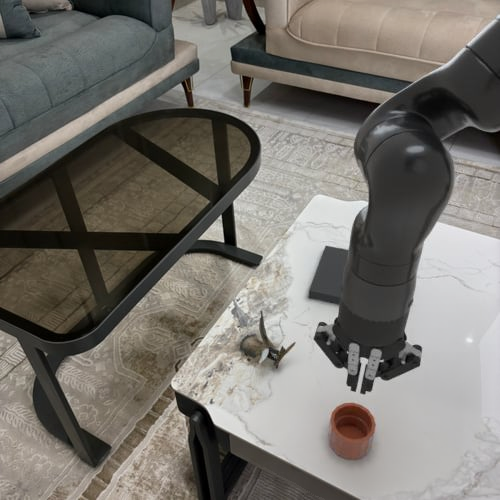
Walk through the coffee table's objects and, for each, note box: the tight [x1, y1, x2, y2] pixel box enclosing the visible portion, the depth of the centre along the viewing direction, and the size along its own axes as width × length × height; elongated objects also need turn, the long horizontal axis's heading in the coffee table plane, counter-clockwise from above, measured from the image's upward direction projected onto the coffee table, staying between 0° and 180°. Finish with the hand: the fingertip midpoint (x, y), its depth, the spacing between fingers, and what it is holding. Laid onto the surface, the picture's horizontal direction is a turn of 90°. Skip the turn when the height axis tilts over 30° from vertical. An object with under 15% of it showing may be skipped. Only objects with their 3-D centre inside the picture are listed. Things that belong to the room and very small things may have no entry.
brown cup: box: [327, 402, 377, 460], centre depth 72 cm, size 6×6×5 cm
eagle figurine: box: [239, 309, 296, 369], centre depth 84 cm, size 8×7×9 cm
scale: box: [308, 245, 349, 305], centre depth 97 cm, size 16×14×4 cm
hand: (358, 387), depth 65 cm, fingers closed
